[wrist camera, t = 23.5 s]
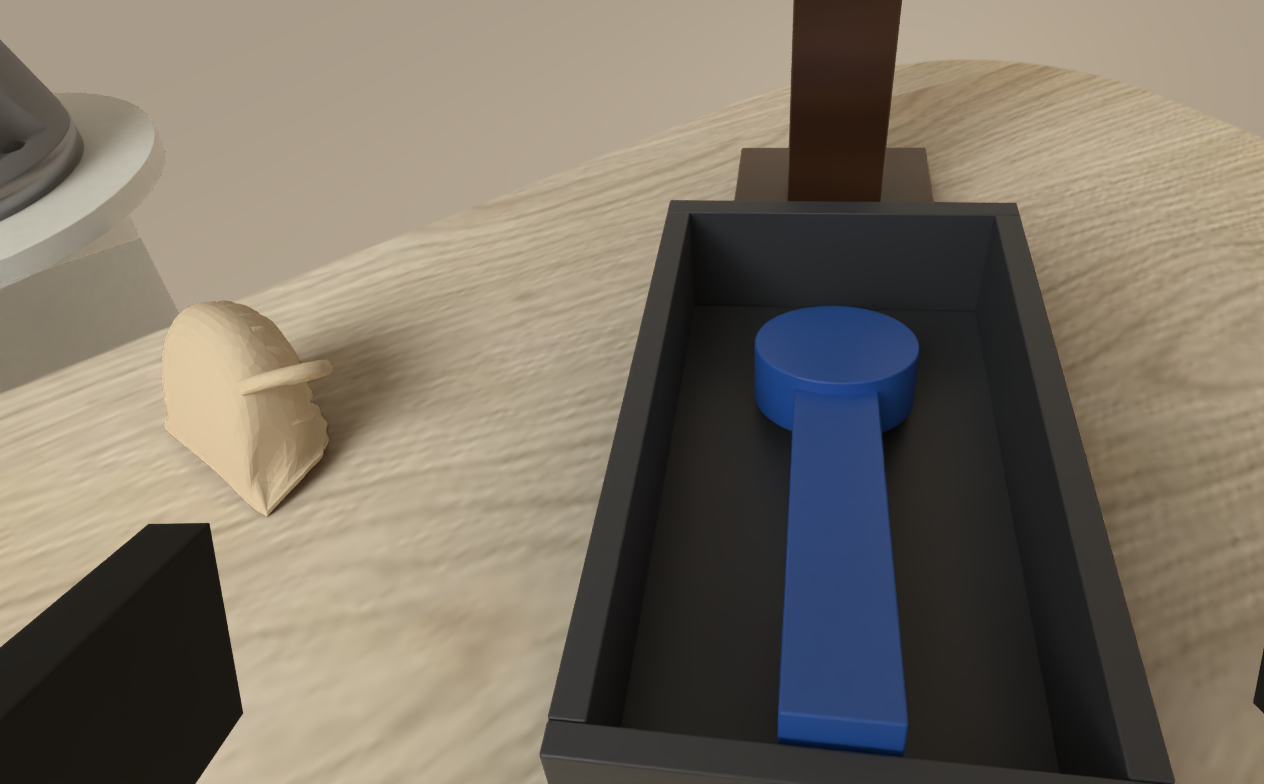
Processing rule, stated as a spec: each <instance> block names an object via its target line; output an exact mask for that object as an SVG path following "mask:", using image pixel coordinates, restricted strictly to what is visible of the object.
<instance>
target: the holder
mask: <svg viewBox="0 0 1264 784" xmlns="http://www.w3.org/2000/svg"><path fill="white" fill-rule="evenodd" d="M819 306H845V307H855V308H861V309H866V310H870V311H875V312H878V313H881V314H884V315H887V316H889V317H892V318H894V319H896V320H898V321H899V322H901V323H902V324H904V325H905V326H907V327H908V328H909V329H910V330H911V331H912V332H913V333H914V334H915V336H916V338H917V339H918V342H919V345H920V353H919V362H918V371H917V380H916V389H915V398H914V404H913V408H912V410H911V412H910V414H909V415H908V416H907V418H906V419H905V420H904V421H903V422H901V423H900V424H899V425H897V426H896V427H894V428H892V429H890V430H888V431H886V432H883V433H882V440H883V451H884V462H885V473H886V483H887V494H888V505H889V516H890V527H891V538H892V549H893V560H894V571H895V582H896V593H897V603H898V614H899V625H900V636H901V647H902V658H903V669H904V680H905V691H906V702H907V713H908V723H909V725H908V732H907V740H906V747H905V754H904V757H899V756H889V755H880V754H870V753H861V752H851V751H842V750H832V749H823V748H813V747H803V746H794V745H784V744H777V734H778V705H779V685H780V665H781V646H782V626H783V606H784V586H785V566H786V547H787V527H788V507H789V487H790V467H791V448H792V431H790V430H788V429H785V428H783V427H781V426H779V425H777V424H776V423H774V422H773V421H771V420H770V419H768V418H767V417H766V416H765V415H764V414H763V413H762V411H761V410H760V409H759V407H758V405H757V403H756V401H755V397H754V373H755V338H756V335H757V333H758V332H759V330H760V329H761V328H762V326H763V325H765V324H766V323H767V322H768V321H770V320H772V319H773V318H775V317H777V316H779V315H782V314H784V313H787V312H790V311H794V310H798V309H803V308H809V307H819ZM548 719H549V721H548V722H547V724H546V728H545V733H544V737H543V741H542V745H541V750H540V759H541V762H542V765H543V768H544V771H545V775H546V778H547V781H548V784H1175V779H1174V776H1173V772H1172V768H1171V765H1170V761H1169V758H1168V754H1167V750H1166V747H1165V743H1164V739H1163V736H1162V732H1161V728H1160V725H1159V721H1158V717H1157V714H1156V710H1155V707H1154V703H1153V699H1152V696H1151V692H1150V688H1149V685H1148V681H1147V677H1146V674H1145V670H1144V666H1143V663H1142V659H1141V656H1140V652H1139V648H1138V645H1137V641H1136V637H1135V634H1134V630H1133V626H1132V623H1131V619H1130V615H1129V612H1128V608H1127V605H1126V601H1125V597H1124V594H1123V590H1122V586H1121V583H1120V579H1119V575H1118V572H1117V568H1116V564H1115V561H1114V557H1113V554H1112V550H1111V546H1110V543H1109V539H1108V535H1107V532H1106V528H1105V524H1104V521H1103V517H1102V514H1101V510H1100V506H1099V503H1098V499H1097V495H1096V492H1095V488H1094V484H1093V481H1092V477H1091V473H1090V470H1089V466H1088V463H1087V459H1086V455H1085V452H1084V448H1083V444H1082V441H1081V437H1080V433H1079V430H1078V426H1077V422H1076V419H1075V415H1074V412H1073V408H1072V404H1071V401H1070V397H1069V393H1068V390H1067V386H1066V382H1065V379H1064V375H1063V371H1062V368H1061V364H1060V361H1059V357H1058V353H1057V350H1056V346H1055V342H1054V339H1053V335H1052V331H1051V328H1050V324H1049V321H1048V317H1047V313H1046V310H1045V306H1044V302H1043V299H1042V295H1041V291H1040V288H1039V284H1038V280H1037V277H1036V273H1035V270H1034V266H1033V262H1032V259H1031V255H1030V251H1029V248H1028V244H1027V240H1026V237H1025V233H1024V229H1023V226H1022V222H1021V219H1020V215H1019V211H1018V207H1017V204H1016V203H956V202H825V201H694V200H671V201H670V204H669V208H668V213H667V217H666V221H665V225H664V230H663V234H662V238H661V242H660V246H659V251H658V255H657V259H656V263H655V268H654V272H653V276H652V280H651V284H650V289H649V293H648V297H647V301H646V305H645V310H644V314H643V318H642V322H641V327H640V331H639V335H638V339H637V343H636V348H635V352H634V356H633V360H632V364H631V369H630V373H629V377H628V381H627V386H626V390H625V394H624V398H623V402H622V407H621V411H620V415H619V419H618V423H617V428H616V432H615V436H614V440H613V445H612V449H611V453H610V457H609V461H608V466H607V470H606V474H605V478H604V482H603V487H602V491H601V495H600V499H599V504H598V508H597V512H596V516H595V520H594V525H593V529H592V533H591V537H590V541H589V546H588V550H587V554H586V558H585V563H584V567H583V571H582V575H581V579H580V584H579V588H578V592H577V596H576V600H575V605H574V609H573V613H572V617H571V622H570V626H569V630H568V634H567V638H566V643H565V647H564V651H563V655H562V659H561V664H560V668H559V672H558V676H557V681H556V685H555V689H554V693H553V697H552V702H551V706H550V710H549V714H548Z"/></svg>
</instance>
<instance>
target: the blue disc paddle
mask: <svg viewBox="0 0 1264 784" xmlns="http://www.w3.org/2000/svg"><path fill="white" fill-rule="evenodd" d="M919 353H920V345H919V342H918V339H917V338H916V336H915V334H914V333H913V332H912V331H911V330H910V329H909V328H908V327H907V326H905V325H904V324H902V323H901V322H899V321H898V320H896V319H894V318H892V317H889V316H887V315H884V314H881V313H878V312H875V311H870V310H866V309H861V308H855V307H845V306H819V307H809V308H803V309H798V310H794V311H790V312H787V313H784V314H782V315H779V316H777V317H775V318H773V319H772V320H770V321H768V322H767V323H766V324H765V325H763V326H762V328H761V329H760V330H759V332H758V333H757V335H756V338H755V373H754V397H755V401H756V403H757V405H758V407H759V409H760V410H761V411H762V413H763V414H764V415H765V416H766V417H767V418H768V419H770V420H771V421H773V422H774V423H776V424H777V425H779V426H781V427H783V428H785V429H788V430H790V431H792V448H791V467H790V487H789V507H788V527H787V547H786V566H785V586H784V606H783V626H782V646H781V665H780V685H779V705H778V734H777V744H784V745H794V746H803V747H813V748H823V749H832V750H842V751H851V752H861V753H870V754H880V755H889V756H899V757H904V754H905V747H906V740H907V732H908V725H909V723H908V713H907V702H906V691H905V680H904V669H903V658H902V647H901V636H900V625H899V614H898V603H897V593H896V582H895V571H894V560H893V549H892V538H891V527H890V516H889V505H888V494H887V483H886V473H885V462H884V451H883V440H882V433H883V432H886V431H888V430H890V429H892V428H894V427H896V426H897V425H899V424H900V423H901V422H903V421H904V420H905V419H906V418H907V416H908V415H909V414H910V412H911V410H912V408H913V404H914V398H915V389H916V380H917V371H918V362H919Z"/></svg>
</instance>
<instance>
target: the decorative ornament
mask: <svg viewBox="0 0 1264 784" xmlns="http://www.w3.org/2000/svg"><path fill="white" fill-rule="evenodd" d="M332 370H333V366H332V364H331V362H330V361H328V360H325V359H323V360H316V361H310V362H306V363H301V362H300V361H299V358H298V356H297V354H296V353H295V351H294V349H293V348H292V346H291V345H290V343H289V342H288V341H287V340H286V339H285V337H284V335H283V334H282V332H281V331H280V330H279V329H278V327H277V326H276V325H275V324H274V323H273V322H272V321H271V320H270V319H268V318H267V317H265V316H263V315H260V314H259V313H258V312H257V311H255V310H253V309H252V308H250V307H248V306H245V305H242V304H235V303H233V302H230V301H218V302H203V303H197V304H194V305H192V306H189V307H187V308H186V309H185V310H184V311H182V312H181V313H180V314H179V315H178V316H177V317H176V318H175V320H174V321H173V323H172V325H171V327H170V329H169V331H168V333H167V336H166V338H165V343H164V349H163V355H162V387H163V394H164V400H165V405H166V410H167V414H168V419H167V420H166V422H165V428H166V430H167V431H168V432H169V433H170V434H171V435H173V436H174V437H175V438H176V439H177V440H178V441H180V442H181V443H182V444H183V445H184V446H186V447H187V448H188V449H189V450H190V451H192V452H193V453H194V454H195V455H197V456H198V457H199V458H200V459H202V460H203V461H204V462H205V463H206V464H207V465H209V466H210V467H211V468H212V469H213V470H214V471H215V472H217V473H218V474H219V475H220V476H221V477H222V478H223V479H224V480H225V481H226V482H227V483H228V484H229V485H230V486H231V487H232V488H233V489H234V490H235V491H236V492H237V493H238V494H239V495H240V496H241V497H242V498H243V499H244V500H245V501H246V502H247V503H248V504H250V505H251V506H252V507H253V508H254V509H255V510H256V511H257V512H259V513H261V514H263V515H265V516H266V517H267V516H268V515H269V514H270V513H271V511H272V510H273V509H274V508H275V507H276V506H277V505H278V504H279V503H280V502H281V501H282V500H283V499H284V497H285V496H286V495H287V494H288V493H289V492H290V491H291V490H292V489H293V488H294V487H295V486H296V485H297V484H298V483H299V482H300V481H301V480H302V479H303V478H304V476H305V475H306V474H307V472H308V471H309V470H310V469H311V468H312V467H314V466H315V465H316V464H317V463H318V462H319V461H320V460H321V458H322V457H323V451H324V449H325V448H326V446H327V445H328V442H329V437H328V435H327V433H326V431H327V427H328V422H327V421H326V420H325V419H324V418H323V417H322V414H321V409H320V408H319V407H318V406H317V404H315V403H313V402H311V400H312V397H313V395H312V391H311V388H310V386H309V385H308V381H310V380H314V379H317V378H321V377H325V376H328V375H329V374H331V373H332Z"/></svg>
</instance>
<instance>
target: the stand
mask: <svg viewBox="0 0 1264 784" xmlns="http://www.w3.org/2000/svg"><path fill="white" fill-rule="evenodd" d="M901 5H902V0H794V4H793V39H792V69H791V70H792V71H791V100H790V131H789V148H743V149H742V151H741V158H740V165H739V172H738V179H737V186H736V193H735V200H734V201H825V202H934V201H933V195H932V188H931V182H930V175H929V169H928V162H927V155H926V149H925V148H886V145H887V136H888V126H889V117H890V108H891V98H892V89H893V80H894V70H895V61H896V51H897V41H898V33H899V24H900V14H901Z"/></svg>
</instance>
